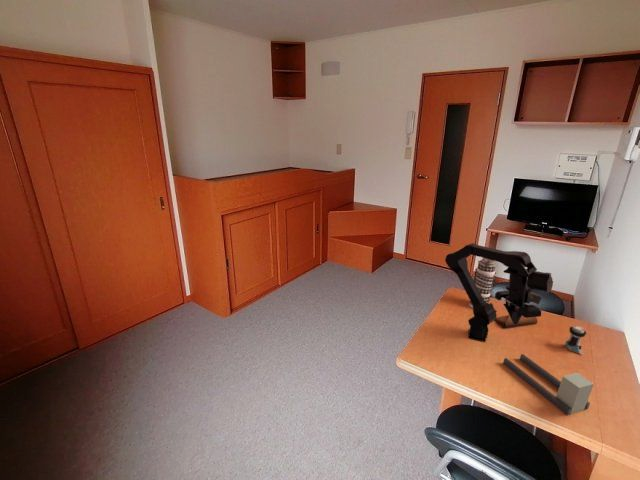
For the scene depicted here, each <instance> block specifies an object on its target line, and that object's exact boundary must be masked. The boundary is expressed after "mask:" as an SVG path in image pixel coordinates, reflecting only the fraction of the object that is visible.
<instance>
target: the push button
mask: <svg viewBox="0 0 640 480" xmlns="http://www.w3.org/2000/svg"><path fill="white" fill-rule="evenodd" d="M569 333H570V335H569V339H567V340H566V341H565V342H564V343H565V344H564V347H565V348H566V349H568V350H569V351H572V352H573V353H576V354H577V353H579V354H580V355H584V351H583V350H582V346H581V344H580V343H581V340H582V338H584V337H585V336H586V335H587V331H586V330H585V328H584V327H581V326H580V325H572V326H570V327H569Z"/></svg>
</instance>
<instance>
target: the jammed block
mask: <svg viewBox="0 0 640 480" xmlns="http://www.w3.org/2000/svg"><path fill="white" fill-rule="evenodd" d="M560 381H561V384H560V387H559V389H558V390H557V393H556V395H555V396H556V397H557V398H558V399H560V400H561V401H562V402H563V403H565V404H566V405H567V406H569V407H570V408H571V412H570V415H571V414H575V413H578V412H581V411H584V410H586V409H585V406H586V404H587V401H588V402H589V398H590V395H591V393H592V389H593V388H594V383H593V382H592V381H590V380H588V378H586V377H584V376H583V375H581V374H580V373H578V372H574V373H571V374H567V375H564V376H563V375H562V377H561V380H560Z"/></svg>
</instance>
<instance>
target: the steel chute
mask: <svg viewBox="0 0 640 480" xmlns="http://www.w3.org/2000/svg"><path fill="white" fill-rule="evenodd" d="M519 361H521V362H522V363H523V364H525V365H526V366H527V367H528V368H529V369H531V370H533V371H534V372H535V373H536V374H537V375H539V376H540V377H542V378H543V379H544V380H546V381H547V382H549V384H551V385H552V386H554V387H555V388H556V389H558V390H559V387H560V384H561V381H562V380H559V379H558V378H557V377H555V376H554V375H552V374H551V373H550V372H548V371H547V370H546V369H545V368H543V367H541V366H540V365H539V364H538V363H536V362H535V361H533V360H532V359H530V358H529V357H528V356H526V355H525V354H523V353H522V354H520V356H519ZM502 364H503V365H504V366H505V367H506V368H507V369H509V370H511V372H513V373H514V374H515V375H516V376H517V377H519V378H520V379H521V380H523V381H524V382H525V383H526V384H528V385H529V386H530V387H531V388H532V389H534V391H536V392H537V393H539V394H540V395H541V396H542V397H543V398H545V399H546V401H548V402H550V403H551V404H552V405H553V406H554V407H556V408H557V409H558V410H559V411H560V412H562V413H563V414H564V415H566V416H568V417H569V416H570V415H571V414H570V412H571V408H570V407H569V406H567V405H566V404H565V403H563V402H562V401H561V400H560V399H558V398H557V397H556V396H557V395H555V394H554V393H552V392H551V391H550V390H548V389H547V388H546V387H544V385H542V384H541V383H539V382H538V381H537V380H535V379H534V378H532V377H531V376H530V375H529V374H528V373H526V372H525V371H524V370H522V369H521V368H520V367H519V366H517V365H516V364H515V363H513V362H512V360H509V359H508V358H507V357H506V358H503V361H502ZM590 404H591V402H589V400H588V401H587V404H586V406H585V409H584V410H588V409H589V407H590Z"/></svg>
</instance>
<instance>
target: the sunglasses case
mask: <svg viewBox="0 0 640 480" xmlns="http://www.w3.org/2000/svg"><path fill="white" fill-rule="evenodd" d="M493 322H495V323H496V324H498V325H499V326H500V327H502V329H509V328H514V327H520V326H526V325H534V324H535V325H536V324H538V318H537V317H528V318H526V317H523V316H521V318H520V320H519V322H518V324H513V322H512V320H511V318H510V315H509V314H507V315H501V316H498V317H496V319H495V320H494V321H493Z"/></svg>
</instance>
